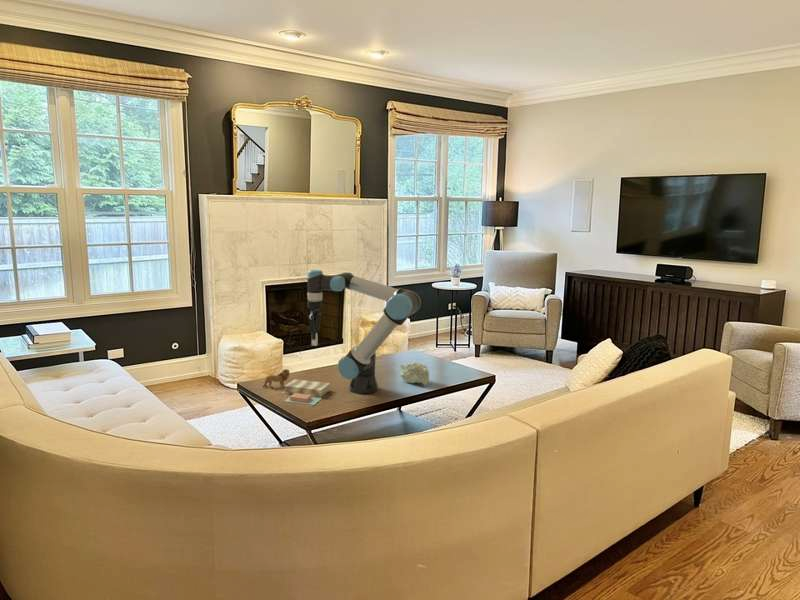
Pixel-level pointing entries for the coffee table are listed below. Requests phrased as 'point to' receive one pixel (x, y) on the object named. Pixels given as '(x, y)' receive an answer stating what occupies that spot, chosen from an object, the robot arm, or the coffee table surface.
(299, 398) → the tile
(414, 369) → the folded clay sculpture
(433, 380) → the coffee table surface
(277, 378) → the lion figurine
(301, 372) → the coffee table surface
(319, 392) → the plate
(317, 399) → the mat
